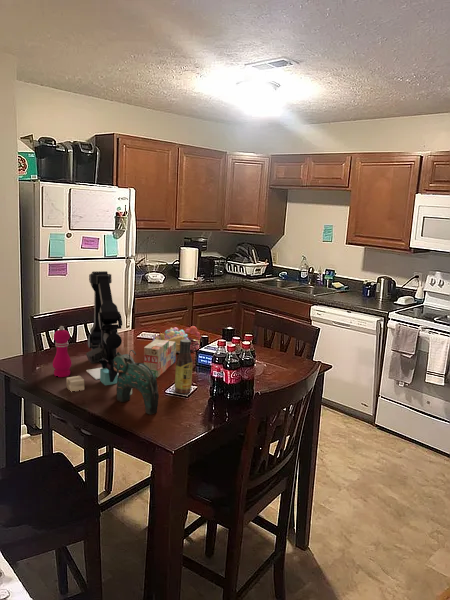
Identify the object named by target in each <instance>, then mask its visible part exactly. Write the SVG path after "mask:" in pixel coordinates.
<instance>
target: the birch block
mask: <svg viewBox="0 0 450 600" xmlns="http://www.w3.org/2000/svg"><path fill="white" fill-rule="evenodd" d="M66 388H67V389H68V391H69V390H70V391H71V392H70V391H69V392H70V393H73V392H72V391H75V392H79V390H80V391H84V390H85V379H84V378H83V377H82V376H81V375H77V376H76V375H74V376H70V377H69V376H67V377H66Z"/></svg>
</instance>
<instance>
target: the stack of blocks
mask: <svg viewBox="0 0 450 600" xmlns="http://www.w3.org/2000/svg"><path fill="white" fill-rule="evenodd" d="M176 354H177V353H176V342H173V341H166V340H158V339H155V340H154V341H153V340H152V341H151V342H150V343H148V344H147V345H145V346H144V347H143V364H145V365H147V366H148V367H149V368H150V370H151V371H152V372H153V374H154V376H155V378H158V377H160V376H161V375H163V373H165V372H166V371H167V370H168V369H169V368H170V367H171V366H172V365H173V364H175V363H176V359H177V356H176Z"/></svg>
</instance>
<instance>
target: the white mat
mask: <svg viewBox="0 0 450 600" xmlns="http://www.w3.org/2000/svg"><path fill="white" fill-rule="evenodd" d="M100 369H102V367H97V368H92V369H86V370H85V372H86V373H88V374H89V375H90V376H91V377H92V378H93V379H94V380H95V381H97V380H100Z"/></svg>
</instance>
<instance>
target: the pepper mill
mask: <svg viewBox="0 0 450 600" xmlns="http://www.w3.org/2000/svg"><path fill="white" fill-rule="evenodd" d="M70 338H71V337H70V332H69V331H67V330H66V329H65V326H63V325H60V326H59V327H58V330H56V331H55V332H54V333H53V340H54V341H55V342H54V345H55V347H56V353H55V356H54V358H53V360H52V367H53V369H54V370H53V376H54V377H56V376H58V378H65V377H66V378H67V377H69V376H70V375H71V369H70V368H71V367H72V360H71V357H70V355H69V352H68V346H69V340H70Z"/></svg>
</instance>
